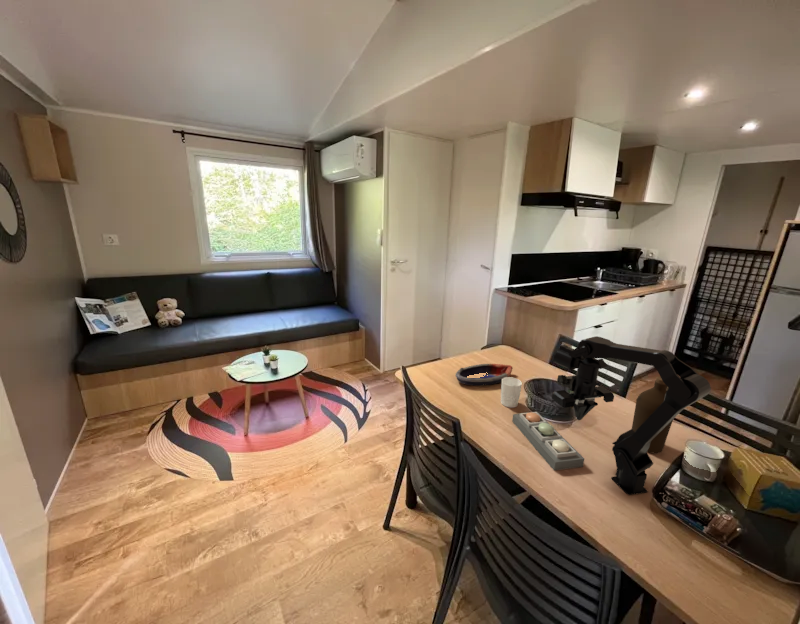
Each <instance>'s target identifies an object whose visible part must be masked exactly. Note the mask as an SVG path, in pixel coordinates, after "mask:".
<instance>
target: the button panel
mask: <svg viewBox="0 0 800 624" xmlns="http://www.w3.org/2000/svg"><path fill="white" fill-rule="evenodd" d="M530 412H531V411H530ZM530 412H521V413H520V412H519V413H513V414H512V418H511V419H512V420H511V421H512V423H513V424H514V425H515V427H516V428H517V429H518V430H519V431H520V432H521V433H522V435H523V436H524V437H525V438H526V440H528V441H529V443H530V444H531V445H532V447H533V448H534V449H535V450H536V451H537V453H538V454H539V455H540V456H541V458H543V460H545V462H546V464H548V465H549V467H550V468H551V469H552V471H562V470H567V469H577V468H583V467H584V464H585V458H584V456H583V455H581V453H580V452H578V450H576V448H575V447H574V446H573V445H571V444H570V443H569V442H568V441H567V439H565V438H564V437H563V436H562V435H561V434H560V433H559V432H558V430H556V429H555V428H554V433H553V435H544V434H542V433H540V432H539V430H538V428H539V424H540V423H548V424H550V422H548V421H547V420H546V419H545V418H544V417H543V416H542V415H541V414H540V413H539V412H538V411H532V413H536V414H538V415H539V416H540V422H534V423H530V422H529V421H528V420H527V419H526V414H527V413H530ZM554 440H561V441H564V442H566V443H567V444H568V445H569V450H568V452H563V453H557V451H556V450H555V449H554V448H553V447H552V443H553V441H554Z"/></svg>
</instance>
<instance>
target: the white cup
mask: <svg viewBox="0 0 800 624" xmlns="http://www.w3.org/2000/svg"><path fill="white" fill-rule="evenodd" d="M522 385H523V383H522V381H521V380H520V379H519V378H516V377H513V376H511V377H510V376H509V377H505V378H503V379H502V382H500V386H501V387H500V403H501V405H503V406H504V407H505V408H510V409H511V408H516V407H518V404H519V399H520V396H521V391H522V390H521V389H522Z"/></svg>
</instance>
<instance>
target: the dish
mask: <svg viewBox="0 0 800 624" xmlns="http://www.w3.org/2000/svg"><path fill="white" fill-rule="evenodd" d="M486 372H487V373H488V374H487V373H486ZM512 372H513V366H512V365H510V364H501V363H480V364H474V365H471V366H465V367H460V368H459V369H458V370H457V371H456V373H455V377H456V380H457V381H458V382H459V383H460V384H463V385H467V386H479V387H480V386H490V385H495V384H499V383H500V384H501V383H502V379H503V378H505V377H510V375H511V373H512ZM479 373H486V375H485V376H484V375H483V376H484V377H480V378H467V376H469V375H474V374H479ZM487 375H488V376H487Z"/></svg>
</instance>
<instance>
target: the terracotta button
mask: <svg viewBox="0 0 800 624" xmlns="http://www.w3.org/2000/svg"><path fill="white" fill-rule="evenodd" d="M532 412H533V411H532ZM532 412H531V411H530V413H529V412H526V413H527V414H526V419H527V420H528V421H529V422H530V423H534V422H540V416H539V415H538V414H536V413H532Z"/></svg>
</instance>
